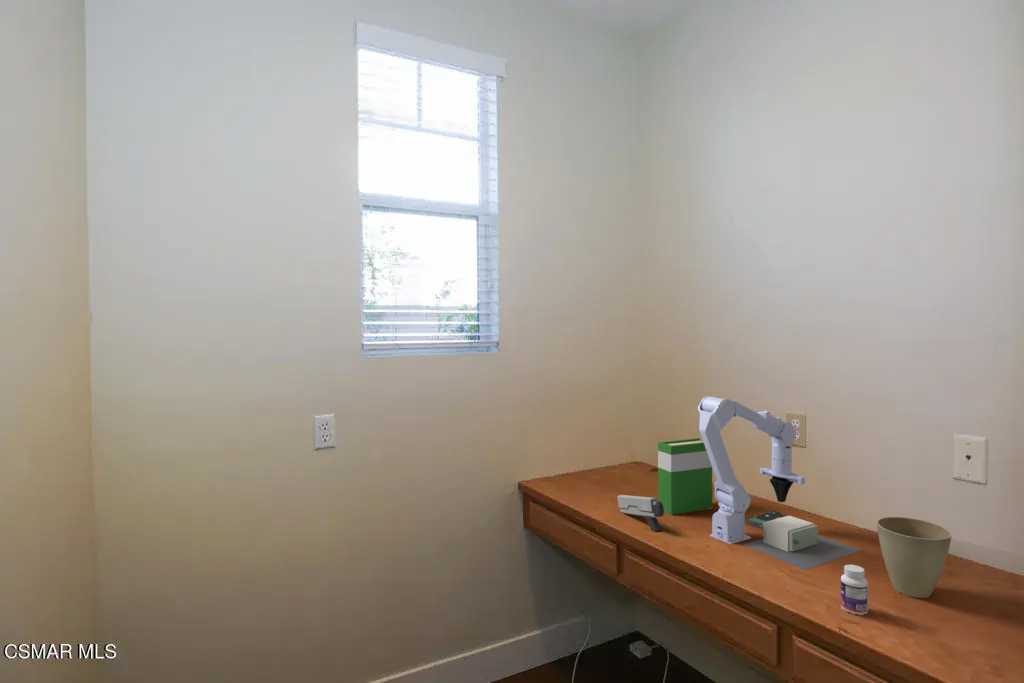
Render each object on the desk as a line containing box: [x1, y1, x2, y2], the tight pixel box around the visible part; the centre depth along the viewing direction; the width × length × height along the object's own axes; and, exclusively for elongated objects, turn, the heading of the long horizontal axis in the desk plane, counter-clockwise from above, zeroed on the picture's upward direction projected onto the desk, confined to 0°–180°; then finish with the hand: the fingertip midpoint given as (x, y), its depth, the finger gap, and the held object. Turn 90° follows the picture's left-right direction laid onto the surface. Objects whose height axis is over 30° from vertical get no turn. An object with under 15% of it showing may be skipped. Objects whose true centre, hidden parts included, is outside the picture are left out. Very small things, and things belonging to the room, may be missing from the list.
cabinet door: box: [789, 524, 819, 552], centre depth 163 cm, size 12×2×5 cm, turn 118°
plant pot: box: [876, 516, 953, 599], centre depth 137 cm, size 15×15×16 cm
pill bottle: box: [840, 564, 869, 616], centre depth 129 cm, size 5×5×10 cm
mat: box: [741, 535, 862, 571], centre depth 164 cm, size 26×20×1 cm
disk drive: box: [746, 510, 800, 531], centre depth 183 cm, size 10×3×15 cm
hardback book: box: [657, 437, 713, 516], centre depth 201 cm, size 18×7×24 cm, turn 111°
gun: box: [617, 494, 665, 532], centre depth 188 cm, size 2×25×10 cm, turn 21°
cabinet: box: [762, 515, 815, 551], centre depth 168 cm, size 12×8×6 cm, turn 119°
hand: (781, 501), depth 178 cm, fingers closed
